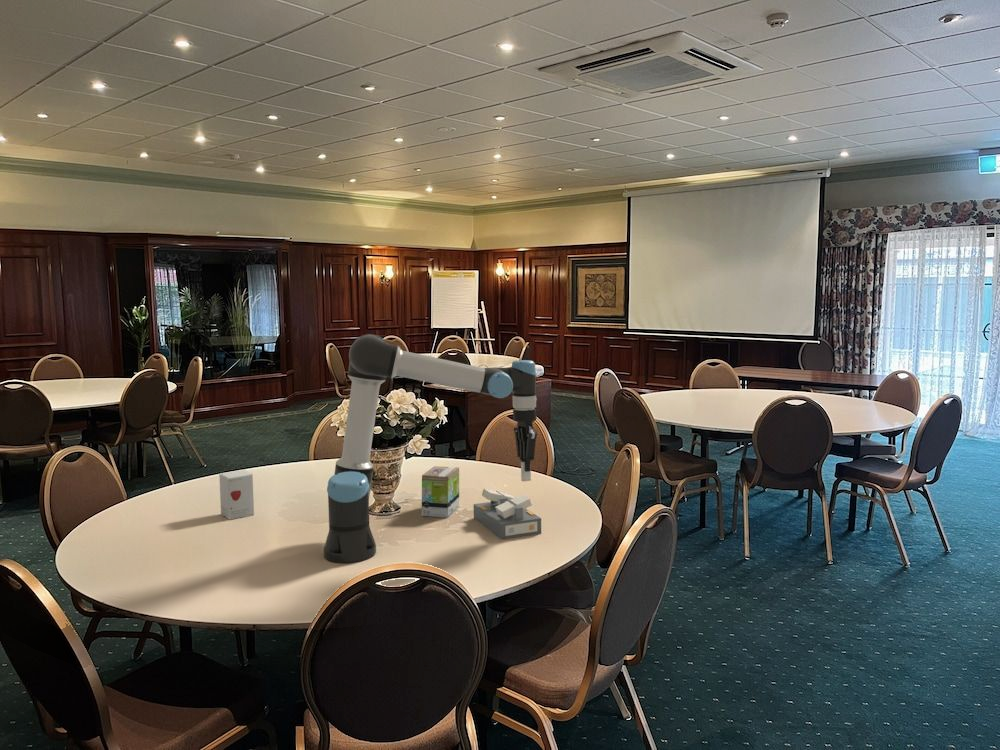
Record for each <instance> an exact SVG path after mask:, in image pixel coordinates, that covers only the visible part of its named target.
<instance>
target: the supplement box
mask: <svg viewBox="0 0 1000 750" xmlns="http://www.w3.org/2000/svg"><path fill="white" fill-rule="evenodd" d="M218 475H219V494H220V495H219V497H220V498H219V499H220V515H221V516H223V517H224V516H225V517H224V518H226V519H227V518H228V519H227V520H229V519H231V520H236V519H241V518H245V517H246V516H247V517H250V516H251V515H252V516H254V515H255V507H254V506H255V505H254V499H255V498H254V480H253V478H254V477H253V473H252V472H250V471H247V470H245V469H243V470H242V469H239V470H236V471H235V470H233V471H228V472H220V473H218ZM240 517H241V518H240ZM247 517H246V518H247ZM235 518H236V519H235Z"/></svg>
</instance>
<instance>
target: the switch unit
mask: <svg viewBox="0 0 1000 750" xmlns="http://www.w3.org/2000/svg"><path fill="white" fill-rule="evenodd" d="M507 501H508V498H501V499H500V502H496V501H491V500H490V501H489V502H488V501H487V502H480V503H479V502H478V503H473V519H474V520H475V521H477V522H478V523H479V524H481V525H482V526H483V527H484V528H485V529H487V530H488V531H490V532H491V533H492V534H493V535H494V536H496V537H497V538H499V540H507V539H508V540H509V539H515V538H520V537H527V536H533V535H534V536H535V535H540V534H542V518H541V517H540V516H538V515H537V514H536V513H534V512H533V511H530V510H529V509H527V508H526V509H524V510H523V507H519V508H515V514H513V515H511V516H509V517H507V518H503V517H502V516H500V515H499V514H497V511H496V508H495V507H496V506H498V505H500V504H502V503H505V502H507Z"/></svg>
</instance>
